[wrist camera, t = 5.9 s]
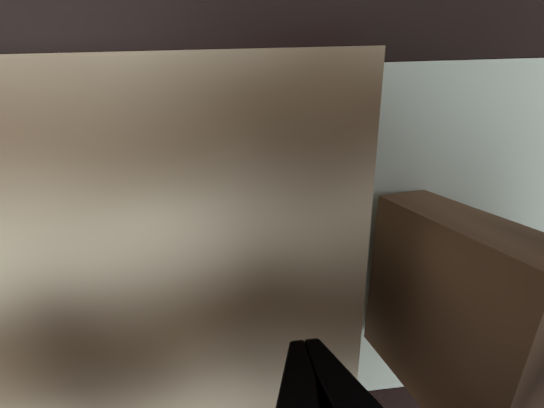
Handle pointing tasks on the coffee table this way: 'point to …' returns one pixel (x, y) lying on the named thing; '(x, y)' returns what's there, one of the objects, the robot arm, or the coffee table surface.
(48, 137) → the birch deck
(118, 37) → the coffee table surface
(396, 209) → the walnut tile
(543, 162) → the sage mat
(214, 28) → the coffee table surface
